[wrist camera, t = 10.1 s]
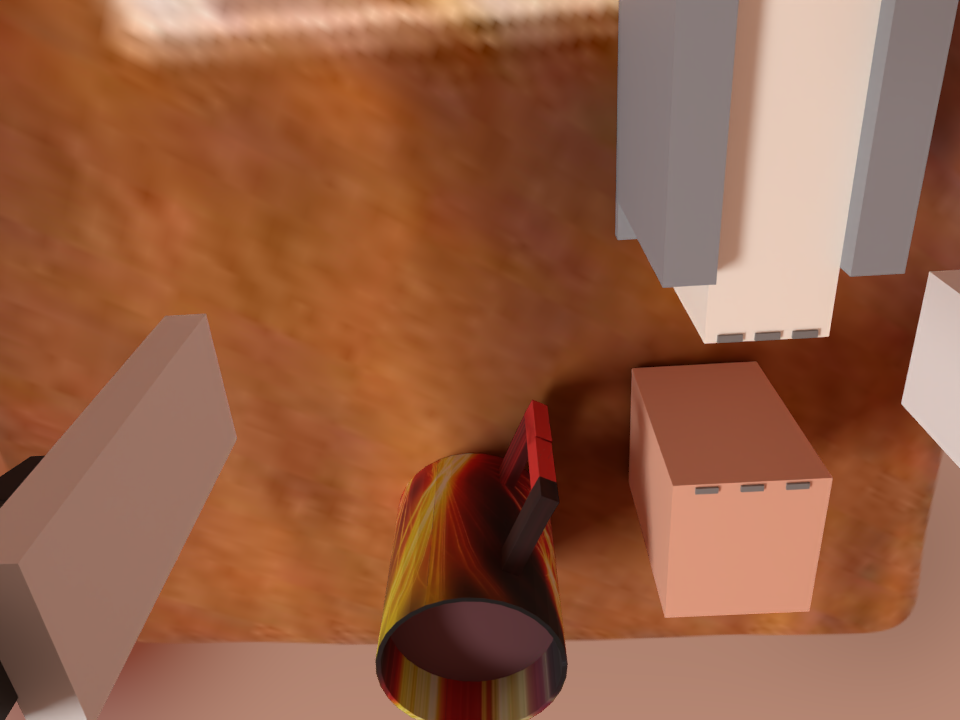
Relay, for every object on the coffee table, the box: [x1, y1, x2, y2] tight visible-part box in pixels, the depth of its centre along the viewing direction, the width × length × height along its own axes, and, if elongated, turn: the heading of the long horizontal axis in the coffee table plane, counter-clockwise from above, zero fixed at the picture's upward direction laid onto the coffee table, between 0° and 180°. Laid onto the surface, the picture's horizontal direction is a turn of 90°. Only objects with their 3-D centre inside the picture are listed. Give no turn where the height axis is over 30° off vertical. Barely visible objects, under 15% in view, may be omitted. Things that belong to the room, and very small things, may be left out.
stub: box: [629, 361, 833, 618], centre depth 42 cm, size 8×7×11 cm
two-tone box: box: [615, 0, 959, 344], centre depth 33 cm, size 16×9×12 cm, turn 3°
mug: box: [376, 400, 568, 720], centre depth 44 cm, size 10×14×12 cm
